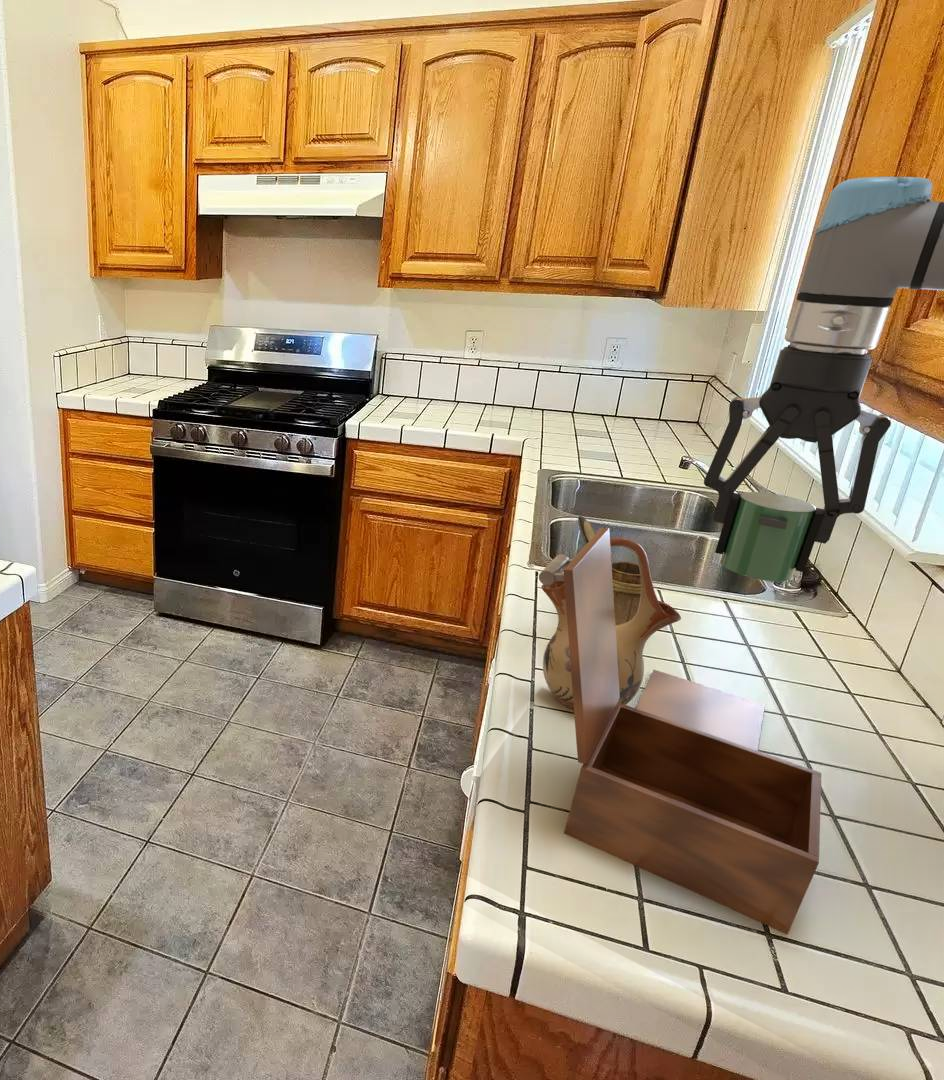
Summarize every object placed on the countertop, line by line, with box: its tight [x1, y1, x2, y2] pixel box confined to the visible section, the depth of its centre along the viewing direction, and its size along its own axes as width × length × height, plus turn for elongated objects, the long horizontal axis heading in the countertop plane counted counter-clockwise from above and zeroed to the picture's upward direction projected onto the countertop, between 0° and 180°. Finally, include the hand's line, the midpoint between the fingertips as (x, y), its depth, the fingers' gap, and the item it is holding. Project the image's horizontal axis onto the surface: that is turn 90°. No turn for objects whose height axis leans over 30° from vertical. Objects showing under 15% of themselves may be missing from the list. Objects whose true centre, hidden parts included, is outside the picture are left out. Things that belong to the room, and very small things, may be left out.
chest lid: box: [538, 527, 620, 764], centre depth 81 cm, size 20×16×5 cm
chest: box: [563, 702, 822, 935], centre depth 78 cm, size 20×16×9 cm
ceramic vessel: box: [540, 537, 682, 710], centre depth 98 cm, size 16×9×25 cm, turn 61°
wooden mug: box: [577, 515, 641, 625], centre depth 123 cm, size 9×14×18 cm, turn 55°
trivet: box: [635, 669, 766, 751], centre depth 103 cm, size 14×14×1 cm
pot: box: [720, 491, 817, 583], centre depth 83 cm, size 7×10×8 cm
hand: (758, 558), depth 84 cm, fingers closed on pot, 7 cm apart
